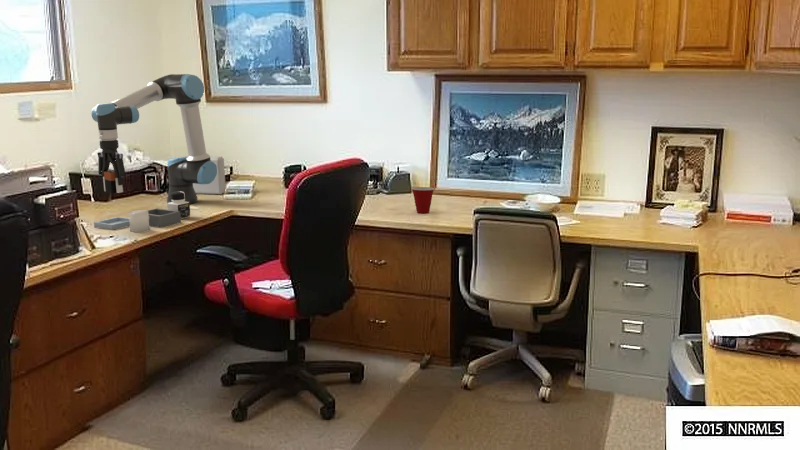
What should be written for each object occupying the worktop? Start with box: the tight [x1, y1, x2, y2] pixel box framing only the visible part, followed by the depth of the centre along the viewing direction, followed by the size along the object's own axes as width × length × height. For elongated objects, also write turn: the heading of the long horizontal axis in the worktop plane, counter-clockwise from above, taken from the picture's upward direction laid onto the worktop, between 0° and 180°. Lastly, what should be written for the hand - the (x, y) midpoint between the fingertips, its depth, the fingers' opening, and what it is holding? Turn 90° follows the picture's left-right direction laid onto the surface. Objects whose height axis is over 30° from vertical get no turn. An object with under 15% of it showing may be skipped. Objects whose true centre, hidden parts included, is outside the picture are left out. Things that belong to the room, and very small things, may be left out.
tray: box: [93, 216, 130, 231], centre depth 335 cm, size 13×12×2 cm
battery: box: [104, 168, 117, 195], centre depth 331 cm, size 4×7×10 cm, turn 46°
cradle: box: [146, 207, 182, 228], centre depth 338 cm, size 12×15×5 cm
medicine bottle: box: [167, 191, 191, 220], centre depth 349 cm, size 7×7×12 cm
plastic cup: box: [411, 186, 435, 215], centre depth 354 cm, size 11×11×12 cm
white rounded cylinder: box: [128, 209, 151, 233], centre depth 325 cm, size 8×8×8 cm
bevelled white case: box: [193, 155, 227, 195], centre depth 409 cm, size 21×8×20 cm, turn 77°
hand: (113, 191), depth 332 cm, fingers closed on battery, 7 cm apart
